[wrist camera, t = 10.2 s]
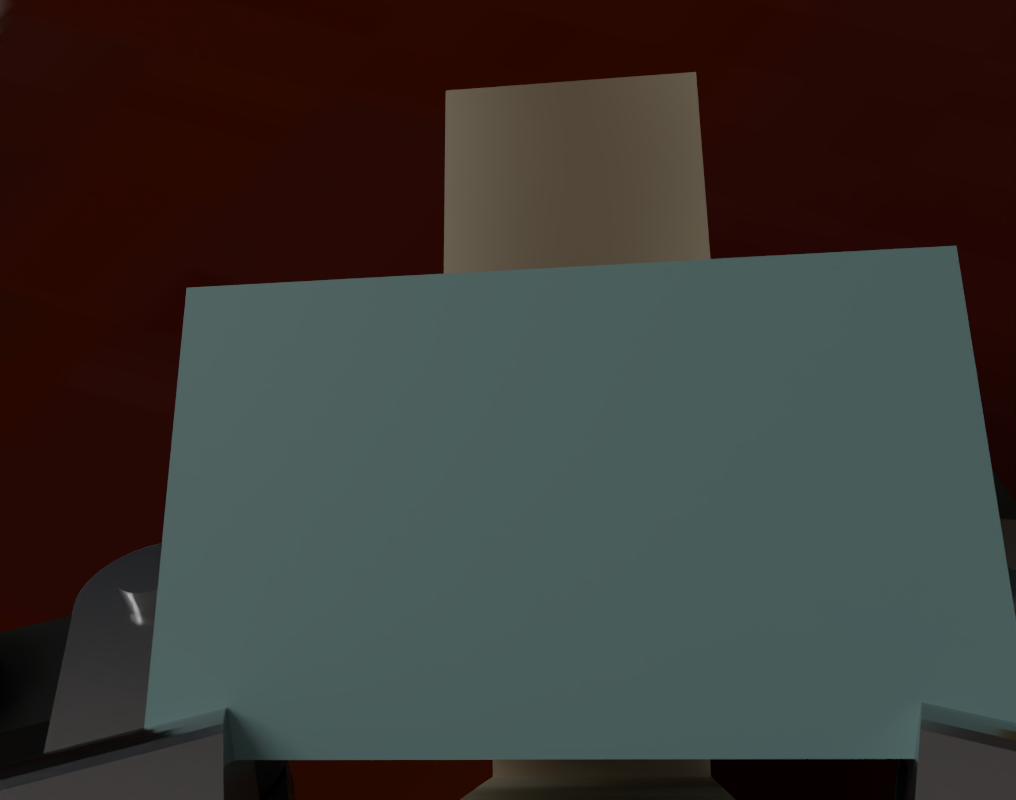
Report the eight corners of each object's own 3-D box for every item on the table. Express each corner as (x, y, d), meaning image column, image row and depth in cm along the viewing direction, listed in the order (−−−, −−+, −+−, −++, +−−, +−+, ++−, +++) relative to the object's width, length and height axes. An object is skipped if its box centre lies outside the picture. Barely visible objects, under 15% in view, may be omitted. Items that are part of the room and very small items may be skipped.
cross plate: (749, 519, 15) (955, 245, 6) (765, 715, 15) (1037, 758, 5) (443, 527, 16) (187, 287, 6) (441, 717, 15) (140, 760, 6)
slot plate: (669, 278, 20) (695, 72, 13) (718, 1056, 16) (792, 1323, 9) (502, 287, 20) (446, 90, 14) (509, 1051, 16) (432, 1304, 10)
